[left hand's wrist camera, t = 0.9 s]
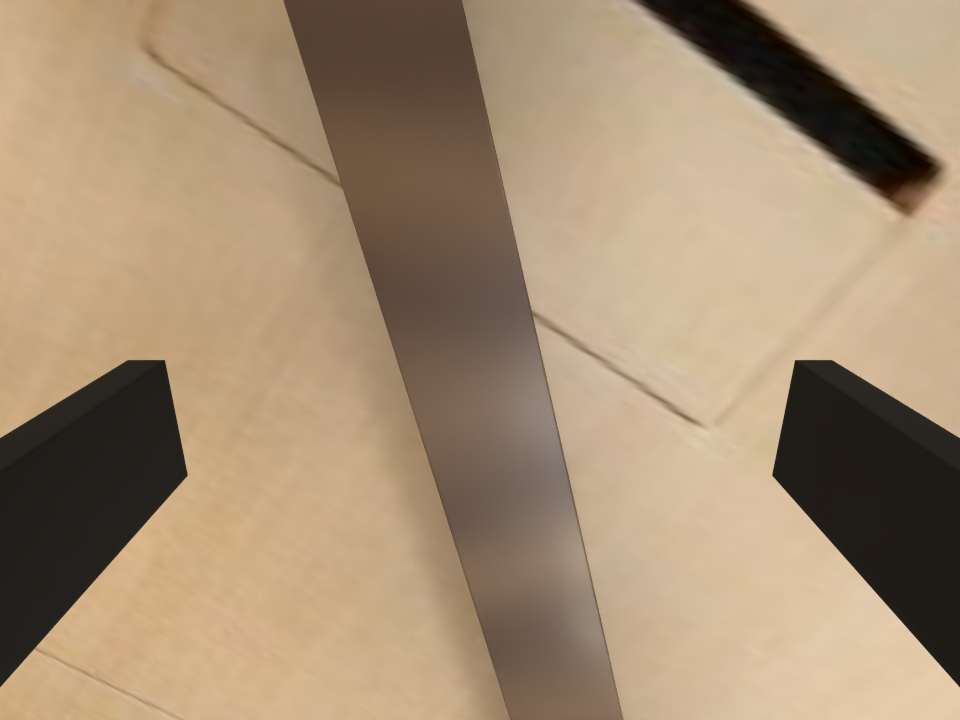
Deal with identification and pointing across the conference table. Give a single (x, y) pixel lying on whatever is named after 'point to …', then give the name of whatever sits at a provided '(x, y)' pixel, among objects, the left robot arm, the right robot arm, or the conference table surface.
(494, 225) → the bar
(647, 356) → the conference table surface
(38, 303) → the conference table surface
